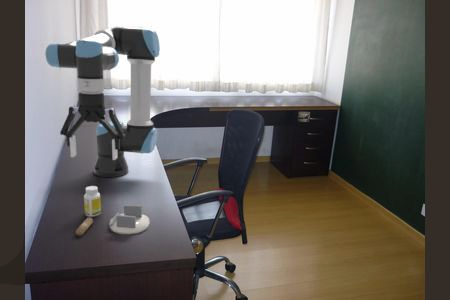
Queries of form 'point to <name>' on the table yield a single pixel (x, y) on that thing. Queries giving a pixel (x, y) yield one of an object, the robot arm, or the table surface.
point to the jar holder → (129, 221)
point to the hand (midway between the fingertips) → (94, 157)
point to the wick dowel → (84, 226)
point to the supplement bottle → (92, 201)
